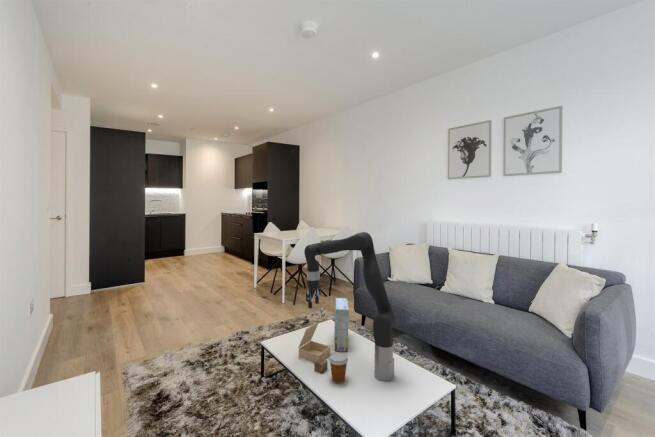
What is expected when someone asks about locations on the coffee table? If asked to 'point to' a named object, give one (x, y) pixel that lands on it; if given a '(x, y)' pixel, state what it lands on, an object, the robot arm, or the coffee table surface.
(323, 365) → the walnut block
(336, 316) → the snack box
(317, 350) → the base
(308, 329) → the mailer lid
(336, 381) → the disposable coffee cup
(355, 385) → the coffee table surface
